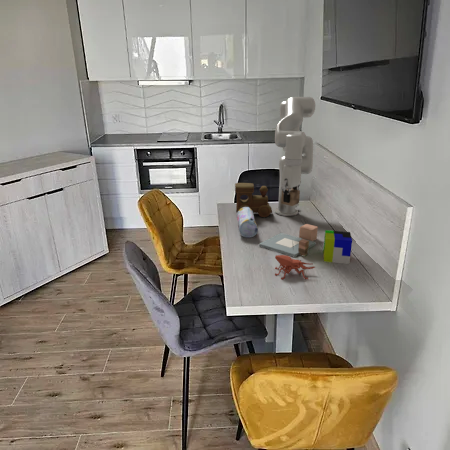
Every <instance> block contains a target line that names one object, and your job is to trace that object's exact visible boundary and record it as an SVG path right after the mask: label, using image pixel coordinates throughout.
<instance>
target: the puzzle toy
mask: <svg viewBox="0 0 450 450" xmlns="http://www.w3.org/2000/svg"><path fill="white" fill-rule="evenodd" d="M352 246H353V238H352V235H351V231H339V230H328V229H326V230H325V232H324V241H323V249H322V255H323V262H326V263H333V264H334V263H336V264H345V265H346V264H347V265H349V264H350V262H351V261H350V260H351V254H352Z"/></svg>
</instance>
